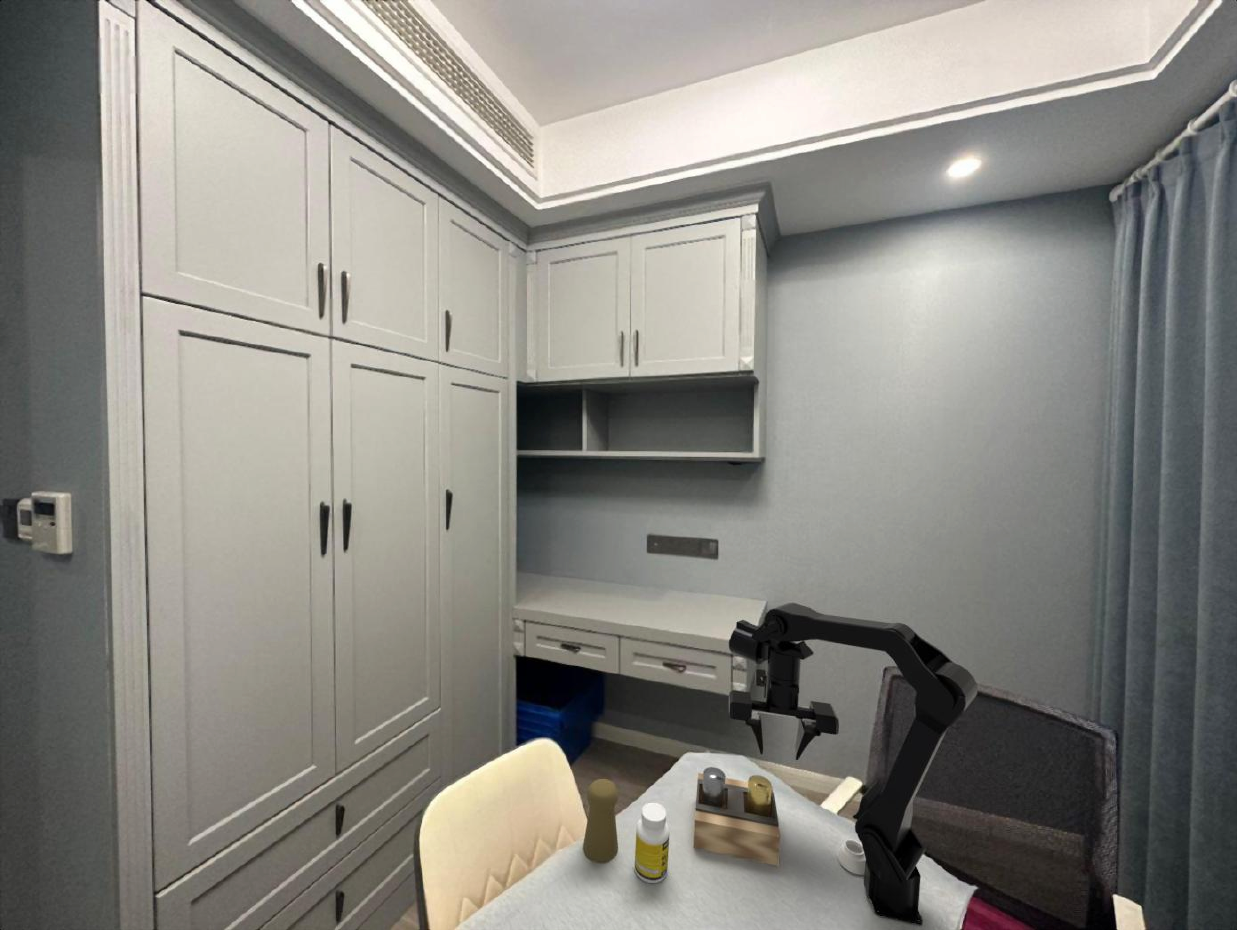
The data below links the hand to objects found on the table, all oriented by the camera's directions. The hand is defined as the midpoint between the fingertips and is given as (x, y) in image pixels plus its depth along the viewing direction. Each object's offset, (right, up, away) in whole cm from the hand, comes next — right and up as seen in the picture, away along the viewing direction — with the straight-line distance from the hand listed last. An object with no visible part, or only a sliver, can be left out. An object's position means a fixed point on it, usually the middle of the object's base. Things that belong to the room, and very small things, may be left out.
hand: (778, 755), depth 88 cm
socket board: (-9, -12, -2) cm, 15 cm away
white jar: (+10, -14, -8) cm, 19 cm away
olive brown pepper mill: (-33, -12, -7) cm, 35 cm away
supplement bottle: (-24, -12, -11) cm, 29 cm away
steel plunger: (-12, -8, -1) cm, 15 cm away
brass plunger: (-5, -9, -3) cm, 10 cm away
